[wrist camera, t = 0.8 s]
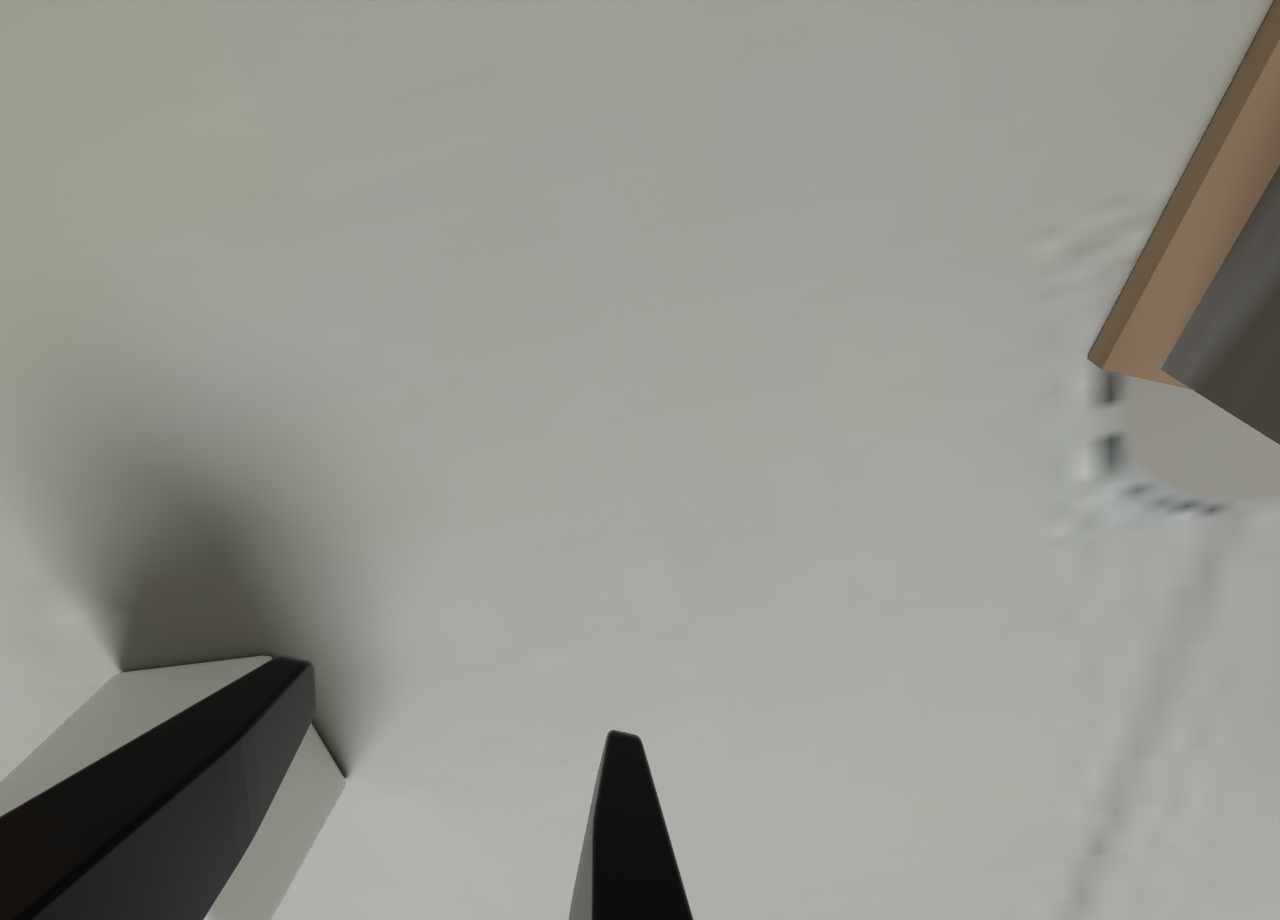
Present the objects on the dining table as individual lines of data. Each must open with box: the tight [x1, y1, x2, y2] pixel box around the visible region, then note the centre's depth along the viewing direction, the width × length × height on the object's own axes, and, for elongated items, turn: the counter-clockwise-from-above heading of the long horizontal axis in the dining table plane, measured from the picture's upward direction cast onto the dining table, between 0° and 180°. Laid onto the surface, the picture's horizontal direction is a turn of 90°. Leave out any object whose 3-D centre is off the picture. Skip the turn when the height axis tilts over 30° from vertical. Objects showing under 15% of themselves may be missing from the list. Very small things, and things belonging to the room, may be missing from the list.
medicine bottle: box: [0, 656, 346, 920], centre depth 23 cm, size 7×7×12 cm
